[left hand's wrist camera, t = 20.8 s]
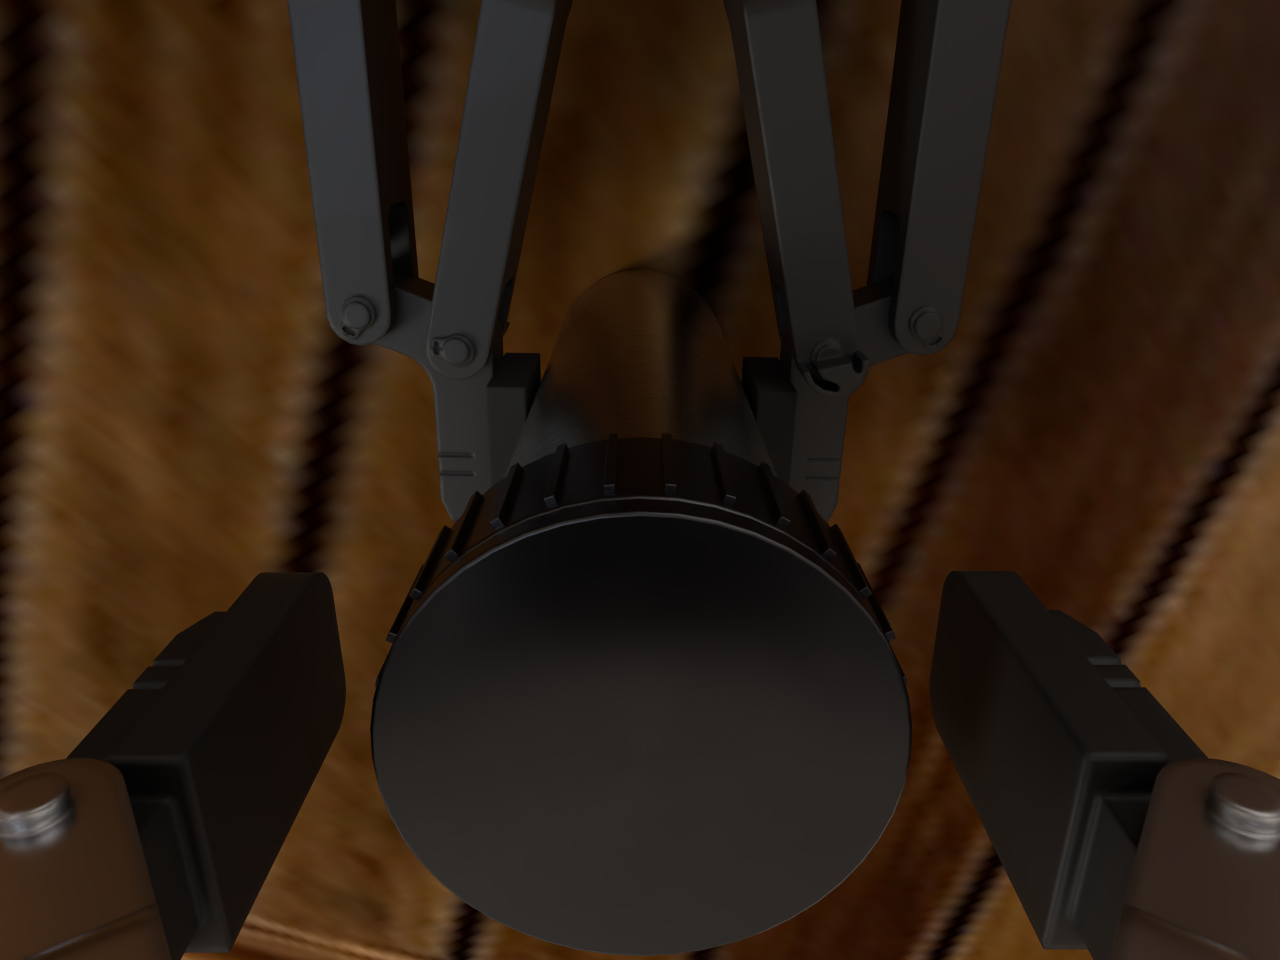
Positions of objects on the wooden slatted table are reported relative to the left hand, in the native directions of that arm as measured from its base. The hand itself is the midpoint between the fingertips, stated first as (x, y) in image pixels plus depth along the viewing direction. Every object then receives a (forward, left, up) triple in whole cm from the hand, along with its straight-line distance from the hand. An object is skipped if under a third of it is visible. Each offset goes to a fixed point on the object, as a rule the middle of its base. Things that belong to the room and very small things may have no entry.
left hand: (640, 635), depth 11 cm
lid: (0, 0, +2) cm, 2 cm away
